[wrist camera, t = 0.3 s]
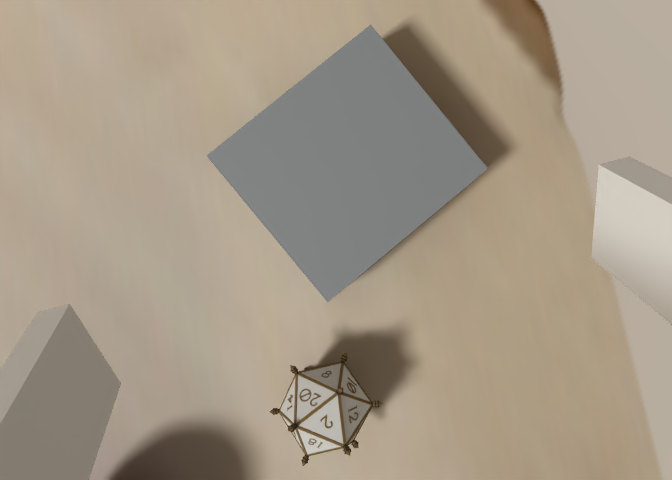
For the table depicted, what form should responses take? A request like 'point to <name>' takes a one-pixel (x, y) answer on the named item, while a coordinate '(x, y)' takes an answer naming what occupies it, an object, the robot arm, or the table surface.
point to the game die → (325, 408)
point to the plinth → (347, 162)
